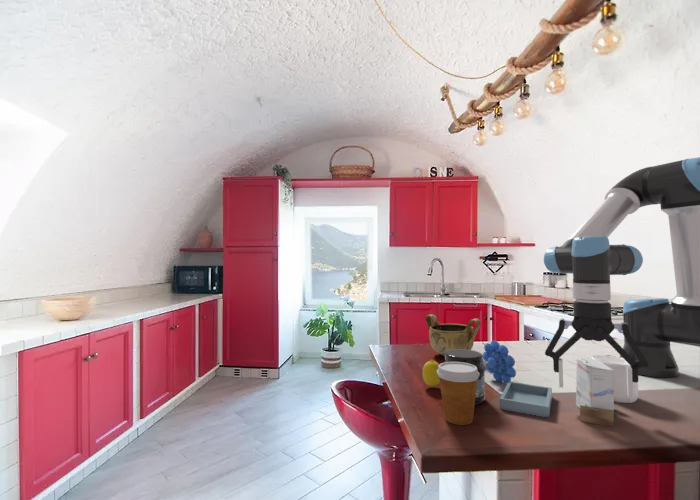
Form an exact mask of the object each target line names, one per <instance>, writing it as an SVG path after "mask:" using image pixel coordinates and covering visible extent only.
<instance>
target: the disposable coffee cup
mask: <svg viewBox="0 0 700 500" xmlns="http://www.w3.org/2000/svg"><path fill="white" fill-rule="evenodd" d="M437 374H438V376H439V381H440V383H439V386H440V393H441V400H442V409H443V415H444V420H445V421H446V422H448V423H450V424H453V425H458V426H467V425H470V424H472V423H473V422H474V415H475V414H474V413H475V406H476V405H475V397H476V387H477V379H478V377H479V372H478V370H477V367H476V366H474V365H472V364H469V363H463V362H446V361H444V362H442V363H439V367H438V369H437Z"/></svg>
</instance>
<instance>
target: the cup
mask: <svg viewBox="0 0 700 500" xmlns="http://www.w3.org/2000/svg"><path fill="white" fill-rule="evenodd" d="M590 360H598V361H600V362H602V363H603V364H605V365H606V366H608V367H609V368H611V369H613V370H614V403H622V404H631V403H636V402H637V400H638V397H639V384H638V383H639V382H638V383H636V382H632V384H633V398H629V397H628V394H627V368H626V365H628V366H631V365H630V364H629V363H628V362H627V361H626V360H625V359H624V358H621V357H620V356H613V355H603V354H599V355H598V354H597V355H596V354H595V355H592V356H591V358H590Z"/></svg>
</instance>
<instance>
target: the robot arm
mask: <svg viewBox="0 0 700 500" xmlns="http://www.w3.org/2000/svg"><path fill="white" fill-rule="evenodd" d="M650 205H651V206H652V205H653V206H654V205H660V211H662V212H663V213H664V214H666V215H667V216H668V225H669V233H670V235H669V236H670V242H671V243H670V244H671V251H672V262H673V263H672V264H673V269H674V271H673V272H674V277H675V278H674V280H675V288H676V289H675V290H676V295H675V296H674V297H673V298H671V299H670V300H669V299H668V298H664V297H663V298H661V297H660V298H639V299H628V300H626V301H624V302H623V308H622V309H623V310H622V319H623V320H622V321H623V322H621V323H613V321H612V304H611V303H610V302H609V301H610V300H611V299H612V296H611V292H612V291H611V276H626V275H630V274H631V275H632V274H634V273H637V271H639V270H640V268H642V266H643V263H644V259H643V258H644V257H643V255H642V252H641V251H640V250H639V249H638V248H637V247H635V246H632V245H628V244H623V243H622V244H610V240H609V236H611V235H612V233H613V232H614V231H615V230H616V229H617V228H618V227H619V225H620V224H621V223H622V222H623V221H624V220H625V219H626V218H627V217H628V215H632V214H634V213H635V212H637V211H638V210H639V209H640V208H644V207H646V206H650ZM543 264H544V266H545V268H546V269H547V271H549V272H551V273H558V274H561V275H562V274H563V275H564V274H572V277H573V278H572V293H573V294H572V295H573V299H575V301H573V302H572V304H573V305H572V307H573V319H572V320H567V319H564V318H559V320H558V321H559V322H558V328H557V330H556V332H555V333H554V334H553V337H552V339H551V340H550V341H549V344H548V346H547V348H546V349H545V352H544V355H546V357H550V358H552V360H553V371H554V373H558V385H559V386H558V388H563V389H564V370H563V369H564V367H563V366H564V365H563V358H562V356H563V355H564V354H566V352H567V351H569V350H570V348H571V347H572V346H574V345H575V343H577V342H579V340H580V339H583V340H585V341H596V342H602V341H606V342H607V343H608V344H609V345H610V346H611V347H612V348H613V349H614V350H615V351H616V352H617V353H618V355H619V357H621V358H624V359H625V360H626V361H627V362H628V363H629V364H630V365H631V366H628V365H626V368H627V394H628V397H629V398H633V384H632V382H636V383H639V376H640V375H641V376H647V377H653V378H675V377H676V378H677V377H678V376H679V373H680V372H679V371H680V370H679V366H678V363H677V360H676V358H675V356H674V353H673V352H672V350H671V343H675V344H682V345H689V346H693V347H694V346H695V347H699V348H700V157H692V158H691V157H690V158H686V159H681V160H678V161H672V162H668V163H662V164H657V165H654V166H647V167H644V168H640V169H639V170H636V171H633V172H632V173H630V174H628V175H627V176H626V177H624V178H622V179H621V180H620V181H618V182H617V183H615V184H614V185H613V186H612V188H610V190H609V191H607V192H606V193H605V196H604V200H603V201H602V203H601V204H600V205H598V207H597V208H596V209H595V210H594V211H593V212H592V213H591V214H590V216H588V218H586V220H585V221H584V222H582V224H581V225H580V226H579V227H578V228H577V229H576V230H575V231H574V232H573V233H572V234H571V236H569V238H567V240H565V242H564V243H563V244H562V245H560V246H554V247H550V248H548V249H546V250H545V252H544V255H543ZM570 326H571V327H572V328H573V329H574V331H575V332H574V333H573V334H572V336H570V337H569V338H568V339H567V341H565V342H564V343H563V344H562V345H561V346H560V347H559V348H558V349H557V350H556V351H554V349H555V347H556V345H557V344H558V342H559V340H560V339H561V337H562V335H563V334H564V330H567V329H568V328H570ZM614 330H617V331H618V333H620V334H622V335H623V336H624V337H623V341H624V342H623V347H622V346H621V345H620V344H619V343H618V342H617V341H616V340H615V339H614V337H612V336H611V333H612V332H613V331H614Z"/></svg>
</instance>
